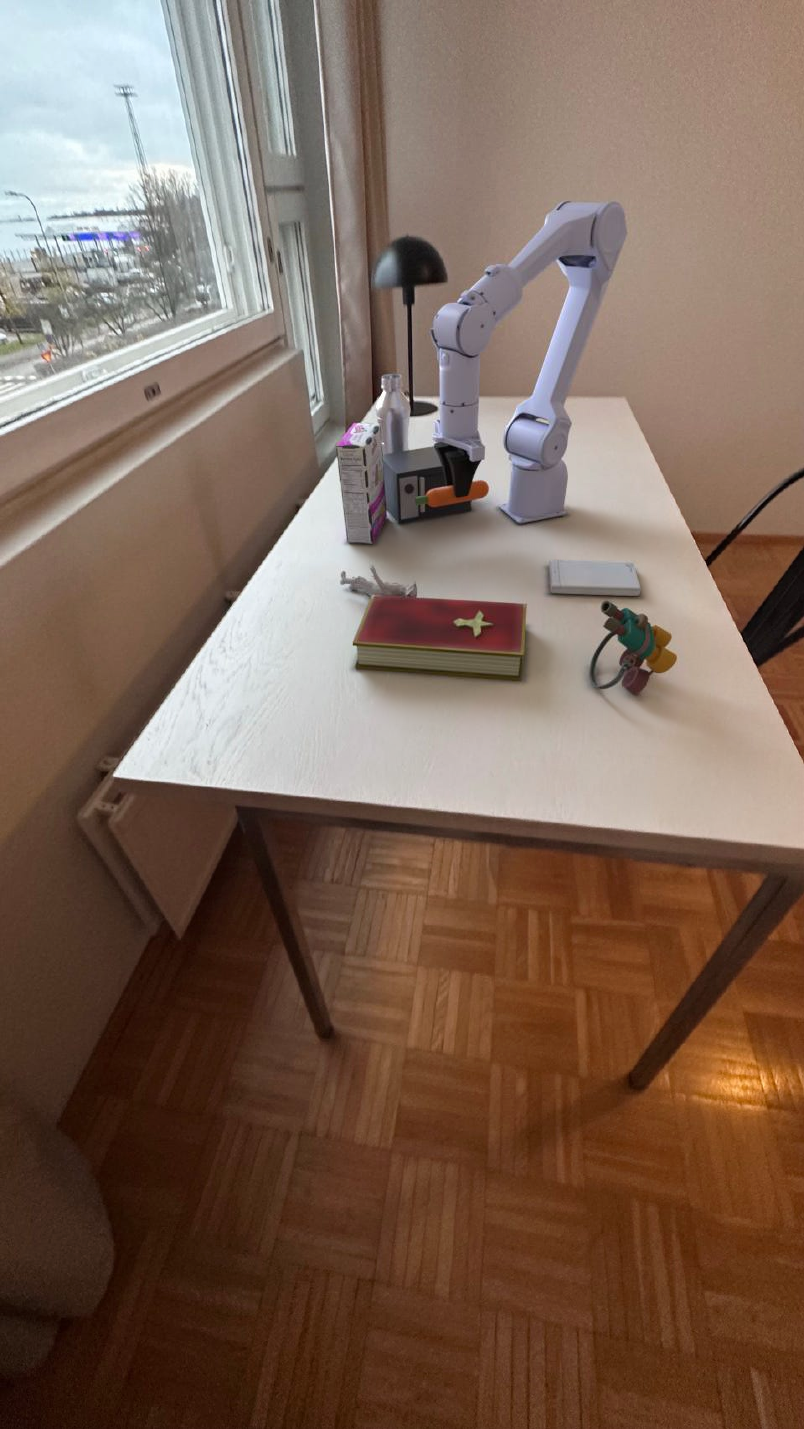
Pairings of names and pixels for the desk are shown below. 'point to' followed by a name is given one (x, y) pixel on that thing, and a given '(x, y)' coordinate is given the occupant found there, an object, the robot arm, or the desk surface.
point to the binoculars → (634, 648)
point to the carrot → (452, 495)
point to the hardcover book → (442, 637)
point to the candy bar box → (362, 482)
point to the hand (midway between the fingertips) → (457, 492)
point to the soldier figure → (379, 586)
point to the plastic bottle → (393, 415)
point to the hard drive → (593, 578)
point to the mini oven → (415, 485)
